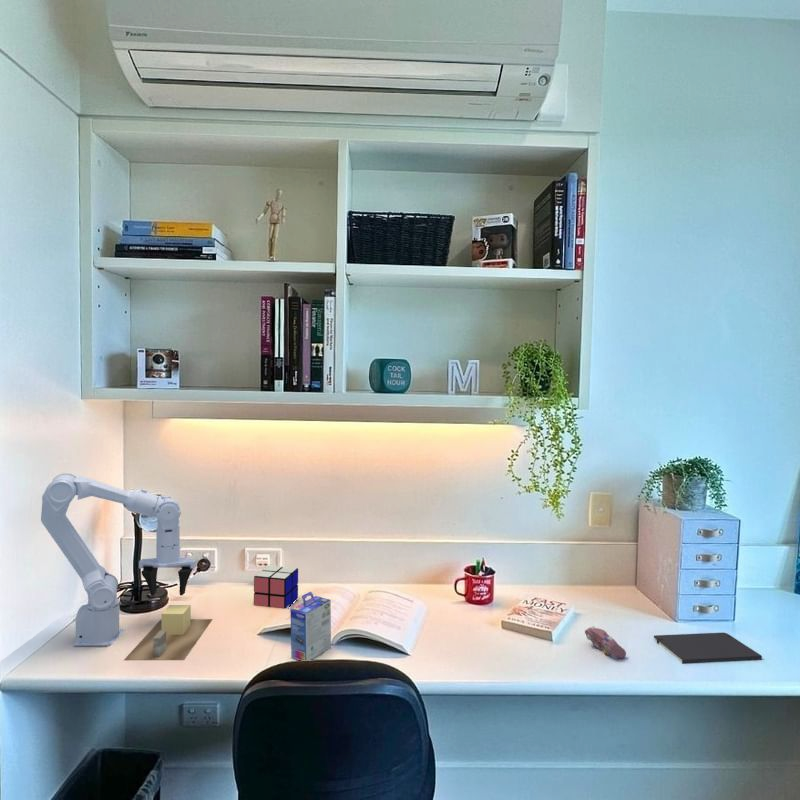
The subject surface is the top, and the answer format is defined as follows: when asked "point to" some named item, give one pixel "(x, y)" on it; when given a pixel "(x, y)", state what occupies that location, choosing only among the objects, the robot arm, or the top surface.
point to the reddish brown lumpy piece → (604, 642)
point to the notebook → (706, 648)
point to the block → (176, 619)
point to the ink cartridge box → (310, 627)
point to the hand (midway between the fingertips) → (167, 594)
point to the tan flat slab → (168, 642)
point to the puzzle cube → (276, 587)
